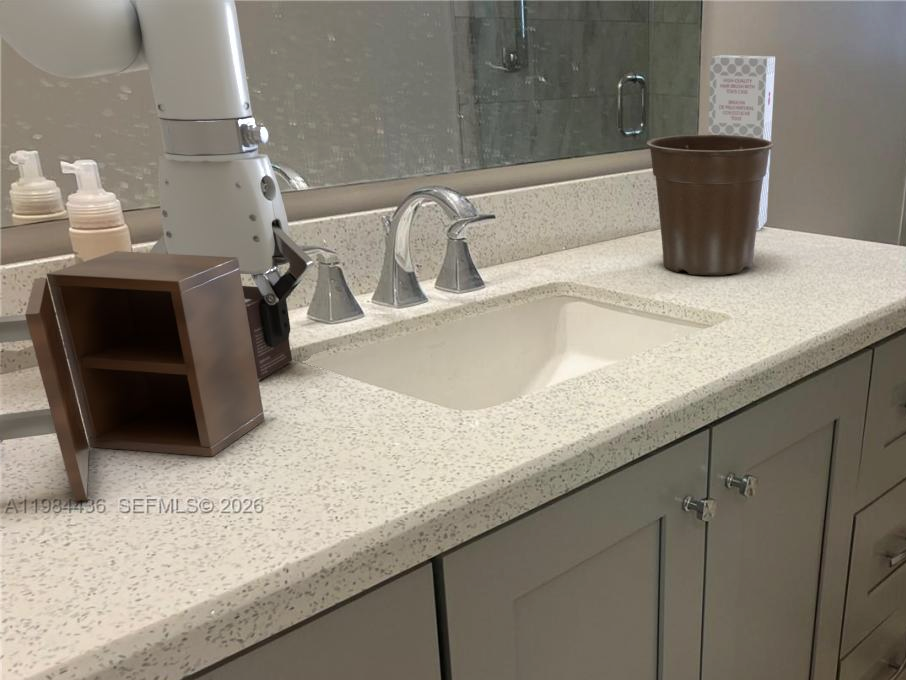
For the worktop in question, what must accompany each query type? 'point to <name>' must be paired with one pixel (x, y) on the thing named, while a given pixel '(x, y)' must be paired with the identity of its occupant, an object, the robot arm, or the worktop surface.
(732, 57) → the box
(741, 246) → the plant pot
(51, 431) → the door
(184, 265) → the cabinet
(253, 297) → the box
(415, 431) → the worktop surface
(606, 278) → the worktop surface
